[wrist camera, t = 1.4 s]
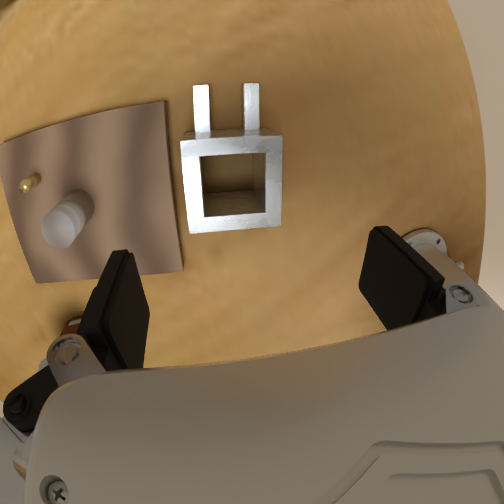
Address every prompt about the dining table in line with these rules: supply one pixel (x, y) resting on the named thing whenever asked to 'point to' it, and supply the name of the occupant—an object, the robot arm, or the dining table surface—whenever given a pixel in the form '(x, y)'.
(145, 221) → the post board
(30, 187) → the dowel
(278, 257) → the dining table surface
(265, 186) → the bracket
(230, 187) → the dining table surface
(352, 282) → the dining table surface
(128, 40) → the dining table surface
